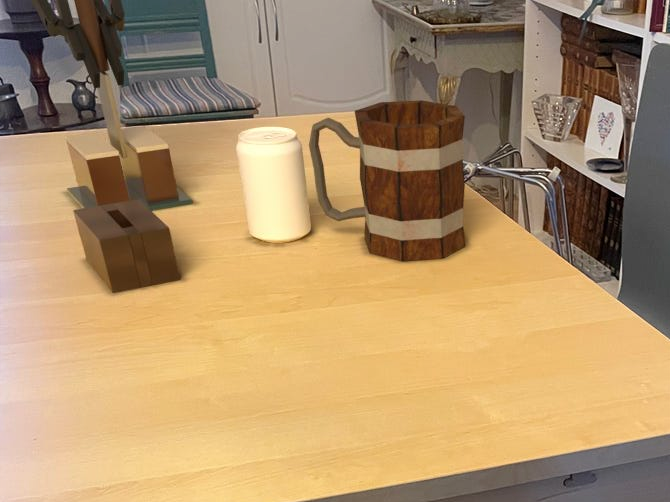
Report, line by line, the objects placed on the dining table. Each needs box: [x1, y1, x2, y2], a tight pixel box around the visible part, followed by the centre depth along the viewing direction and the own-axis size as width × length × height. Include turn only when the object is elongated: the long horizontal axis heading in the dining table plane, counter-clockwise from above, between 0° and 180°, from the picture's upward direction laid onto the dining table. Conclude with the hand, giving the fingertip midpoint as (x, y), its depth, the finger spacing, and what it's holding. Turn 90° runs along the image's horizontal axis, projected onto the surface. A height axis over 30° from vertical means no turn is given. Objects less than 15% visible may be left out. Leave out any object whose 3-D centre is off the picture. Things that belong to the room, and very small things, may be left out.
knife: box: [73, 0, 127, 158], centre depth 124 cm, size 6×2×19 cm, turn 32°
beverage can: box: [235, 126, 312, 244], centre depth 120 cm, size 8×8×12 cm
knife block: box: [73, 199, 181, 294], centre depth 112 cm, size 12×8×6 cm, turn 32°
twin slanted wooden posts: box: [65, 125, 193, 211], centre depth 132 cm, size 14×14×8 cm
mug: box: [308, 99, 466, 262], centre depth 117 cm, size 20×14×15 cm
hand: (109, 79), depth 122 cm, fingers closed on knife, 2 cm apart
